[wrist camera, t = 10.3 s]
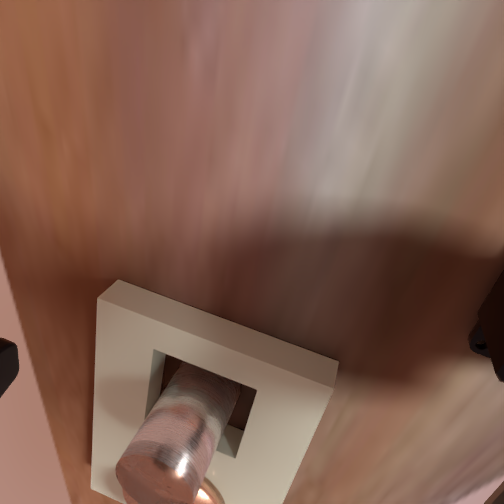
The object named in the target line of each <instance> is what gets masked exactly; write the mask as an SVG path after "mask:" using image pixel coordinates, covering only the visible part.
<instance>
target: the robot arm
mask: <svg viewBox="0 0 504 504" xmlns="http://www.w3.org/2000/svg"><path fill="white" fill-rule="evenodd" d="M478 318H479V321H478V322H477V324H476V326H475V327H474V329H473V330H472V332H471V334H470V335H469V338H468V341H469V345H470V348H471V350H472V351H473V352H475V353H477V354H480V355H483V356H486V357H489V358H491V361H492V364H493V367H494V371H495V374H496V376H497V378H498V379H499V381H501V382H504V271H503V272H502V274H501V276H500V277H499V279H498V280H497V282H496V284H495V285H494V287H493V288H492V290H491V292H490V293H489V295H488V297H487V298H486V300H485V301H484V303H483V305H482V306H481V308H480V309H479V311H478ZM481 340H483V341H486V342H485V343H484V344H477V342H478V341H481ZM18 371H19V359H18V349H17V345H16V344H15V343H13V342H11V341H9V340H6V339H4V338H0V397H1V396H2V395H3V394H4V392H5V391H6V390H7V388H8V387H9V386H10V385H11V383H12V382H13V381H14V379H15V378H16V376H17V374H18ZM484 504H504V481H503V482H502V484H501V485H500V486H499V487H498V488H497V489H496V490H495V491H494V493H493V494H492V495H491V496H490V497H489V498H488V499H487V500H486V502H485V503H484Z"/></svg>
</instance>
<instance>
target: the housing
mask: <svg viewBox="0 0 504 504" xmlns="http://www.w3.org/2000/svg"><path fill="white" fill-rule="evenodd" d="M166 354H168V355H170V356H173V357H175V358H178V359H180V360H183V361H185V362H188V363H190V364H193V365H195V366H198V367H200V368H203V369H206V370H208V371H211V372H213V373H216V374H218V375H221V376H223V377H226V378H228V379H231V380H233V381H236V382H238V383H241V384H244V385H246V386H249V387H251V388H254V389H256V390H257V393H256V396H255V399H254V402H253V406H252V409H251V412H250V415H249V418H248V421H247V424H246V427H245V431H243V430H240V429H238V428H235V427H233V426H231V425H228V424H227V426H226V428H225V430H224V433H223V435H222V437H221V440H220V442H219V444H218V447H217V449H216V451H215V454H214V456H213V458H212V461H211V463H210V465H209V468H208V470H207V472H206V475H205V477H206V478H207V479H209V480H210V481H211V482H212V483H213V484H214V486H215V487H216V488H217V489H218V491H219V492H220V493H221V495H222V497H223V499H224V502H225V504H282V503H283V501H284V499H285V497H286V494H287V492H288V490H289V488H290V486H291V483H292V481H293V479H294V477H295V474H296V472H297V470H298V468H299V466H300V463H301V461H302V459H303V457H304V455H305V452H306V450H307V448H308V446H309V444H310V441H311V439H312V437H313V435H314V433H315V430H316V428H317V426H318V424H319V422H320V419H321V417H322V415H323V413H324V411H325V408H326V406H327V404H328V402H329V400H330V397H331V395H332V393H333V391H334V388H335V382H336V376H337V370H338V364H339V361H336V360H333V359H331V358H328V357H325V356H323V355H320V354H317V353H315V352H312V351H309V350H306V349H304V348H301V347H298V346H296V345H293V344H290V343H288V342H285V341H282V340H280V339H277V338H274V337H272V336H269V335H266V334H264V333H261V332H258V331H256V330H253V329H250V328H248V327H245V326H242V325H239V324H237V323H234V322H231V321H229V320H226V319H223V318H221V317H218V316H215V315H213V314H210V313H207V312H205V311H202V310H199V309H197V308H194V307H191V306H189V305H186V304H183V303H181V302H178V301H175V300H172V299H170V298H167V297H164V296H162V295H159V294H156V293H154V292H151V291H148V290H146V289H143V288H140V287H138V286H135V285H132V284H130V283H127V282H124V281H122V280H119V279H118V280H117V281H116V282H115V283H113V284H112V285H111V286H110V287H109V288H108V289H107V290H106V291H104V292H103V293H102V294H101V295H100V296H99V297H98V298H97V320H96V350H95V379H94V408H93V438H92V467H91V489H93V490H95V491H97V492H99V493H102V494H104V495H106V496H108V497H110V498H112V499H115V500H117V501H119V502H121V503H123V504H127V503H126V501H125V499H124V496H123V491H122V486H121V485H120V483H119V481H118V479H117V477H116V472H115V468H116V464H117V462H118V461H119V459H120V458H121V456H122V455H123V453H124V452H125V450H126V448H127V447H128V445H129V444H130V442H131V441H132V439H133V438H134V436H135V435H136V433H137V431H138V430H139V428H140V427H141V425H142V424H143V422H144V421H145V419H146V418H147V416H148V414H149V413H150V411H151V410H152V408H153V407H154V405H155V404H156V402H157V401H158V399H159V397H160V391H161V384H162V377H163V371H164V364H165V357H166Z"/></svg>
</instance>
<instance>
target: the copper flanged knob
mask: <svg viewBox="0 0 504 504" xmlns="http://www.w3.org/2000/svg"><path fill="white" fill-rule="evenodd" d="M122 491H123V496H124V499H125V501H126V503H127V504H140V503H138V502H137V501H135V500H134V499H133V498H132V497H131V496H130V495H128V494H127V492H126V491H125V490H124V489H123V488H122ZM193 504H225V502H224V499H223V497H222V495H221V493H220V492H219V491H218V489H217V488H216V487H215V486H214V484H213V483H212V482H211V481H210V480H209V479H207V478H206V477H204V479H203V482H202V484H201V486H200V489H199V491H198V493H197V496H196V498H195V500H194V503H193Z"/></svg>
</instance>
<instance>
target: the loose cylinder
mask: <svg viewBox="0 0 504 504" xmlns="http://www.w3.org/2000/svg"><path fill="white" fill-rule="evenodd" d="M240 392H241V384H240V383H238V382H236V381H233V380H231V379H228V378H226V377H223V376H221V375H218V374H216V373H213V372H211V371H208V370H206V369H203V368H200V367H198V366H195V365H193V364H190V363H188V362H185V361H183V362H182V363H181V365H180V367H179V368H178V370H177V371H176V373H175V374H174V376H173V377H172V379H171V380H170V382H169V384H168V385H167V387H166V388H165V390H164V391H163V393H162V394H161V396H160V397H159V399H158V401H157V402H156V404H155V405H154V407H153V408H152V410H151V411H150V413H149V414H148V416H147V418H146V419H145V421H144V422H143V424H142V425H141V427H140V428H139V430H138V431H137V433H136V435H135V436H134V438H133V439H132V441H131V442H130V444H129V445H128V447H127V448H126V450H125V452H124V453H123V455H122V456H121V458H120V459H119V461H118V462H117V464H116V468H115V472H116V477H117V479H118V481H119V483H120V485H121V486H122V488H123V489H124V490H125V491H126V492H127V494H128V495H130V496H131V497H132V498H133V499H134V500H135V501H137V502H138V503H140V504H193V503H194V500H195V498H196V496H197V493H198V491H199V489H200V486H201V484H202V482H203V479H204V477H205V475H206V472H207V470H208V468H209V465H210V463H211V461H212V458H213V456H214V454H215V451H216V449H217V447H218V444H219V442H220V440H221V437H222V435H223V433H224V430H225V428H226V426H227V423H228V421H229V419H230V416H231V414H232V412H233V409H234V407H235V405H236V402H237V400H238V398H239V395H240Z"/></svg>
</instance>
